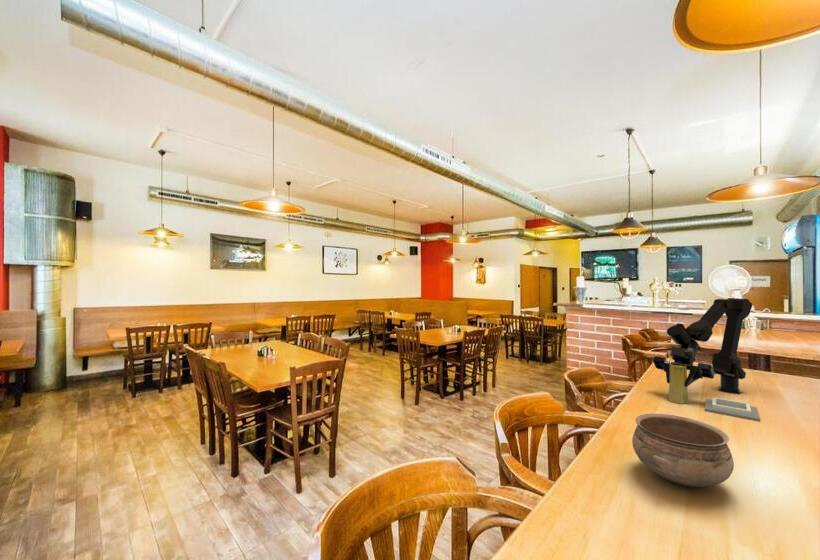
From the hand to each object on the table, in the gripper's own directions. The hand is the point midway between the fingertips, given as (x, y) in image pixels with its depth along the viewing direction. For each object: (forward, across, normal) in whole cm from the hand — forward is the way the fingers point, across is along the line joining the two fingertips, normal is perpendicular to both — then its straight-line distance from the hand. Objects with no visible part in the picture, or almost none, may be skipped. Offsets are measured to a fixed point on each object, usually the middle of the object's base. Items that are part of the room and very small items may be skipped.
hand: (676, 384), depth 134 cm
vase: (+4, 0, +6) cm, 7 cm away
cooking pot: (+48, +20, -38) cm, 64 cm away
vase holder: (+1, +14, +9) cm, 17 cm away
